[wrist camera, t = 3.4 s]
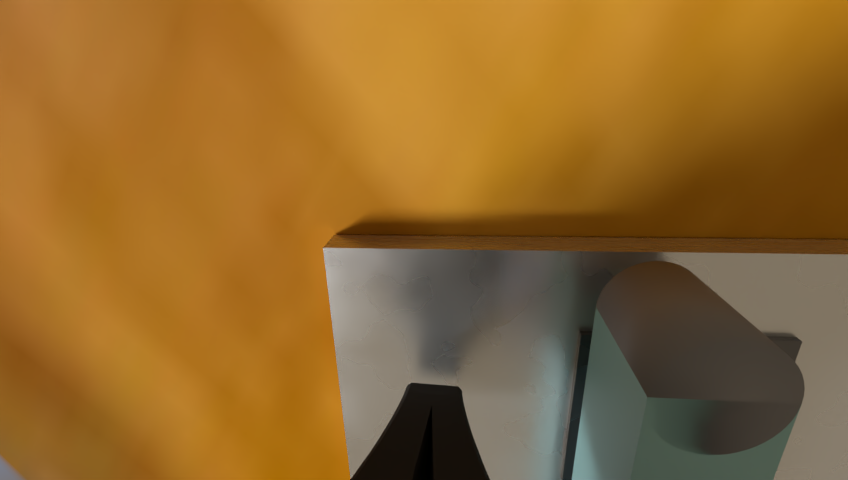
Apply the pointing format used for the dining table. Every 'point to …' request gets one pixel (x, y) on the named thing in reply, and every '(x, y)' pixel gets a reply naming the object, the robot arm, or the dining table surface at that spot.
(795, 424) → the panel
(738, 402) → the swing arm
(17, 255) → the dining table surface
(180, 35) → the dining table surface
